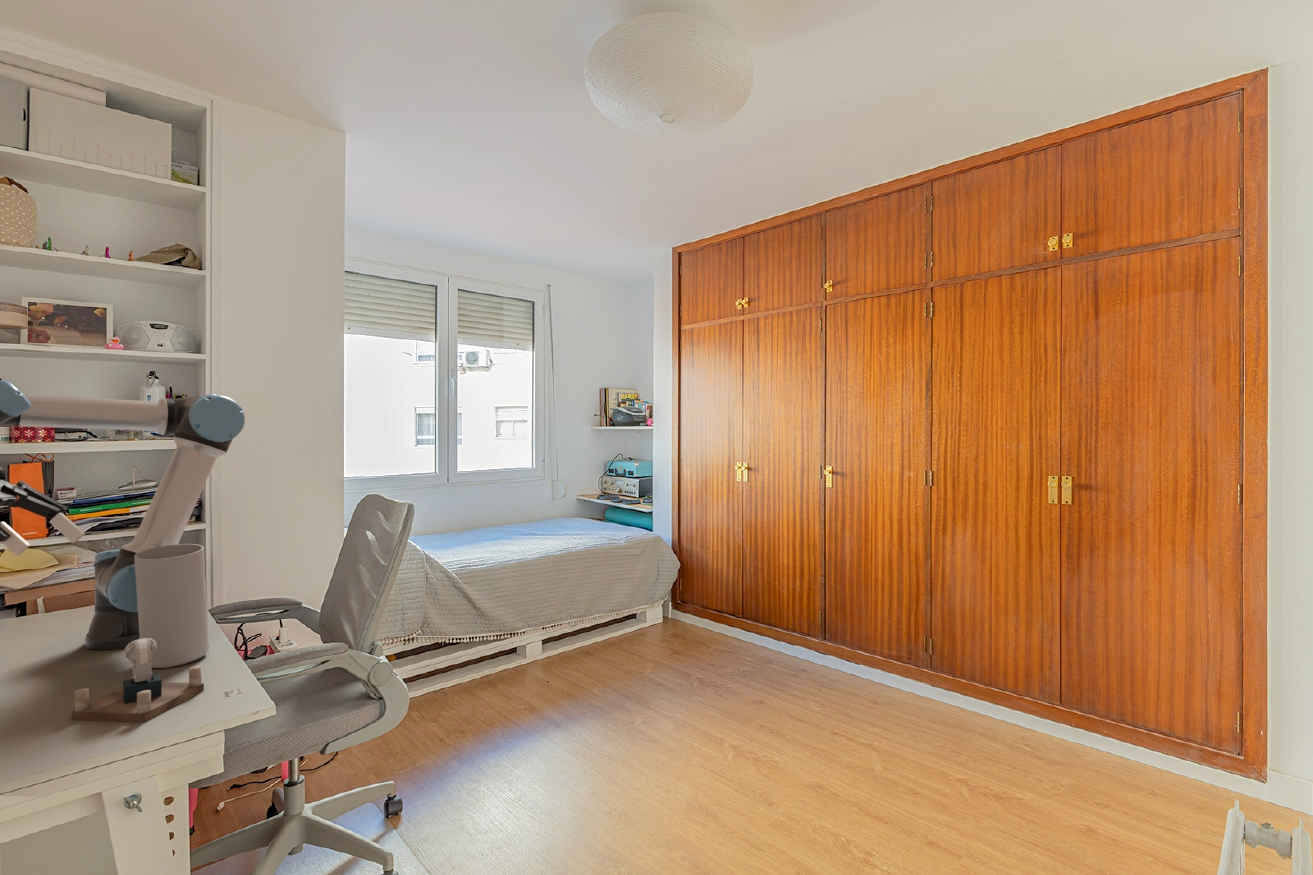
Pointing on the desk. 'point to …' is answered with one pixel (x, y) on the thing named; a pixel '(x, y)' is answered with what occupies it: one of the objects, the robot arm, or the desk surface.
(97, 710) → the peg base
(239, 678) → the desk surface
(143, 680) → the watch
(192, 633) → the cylinder vase
